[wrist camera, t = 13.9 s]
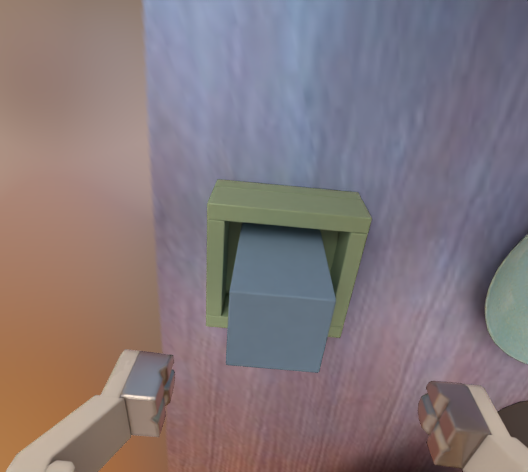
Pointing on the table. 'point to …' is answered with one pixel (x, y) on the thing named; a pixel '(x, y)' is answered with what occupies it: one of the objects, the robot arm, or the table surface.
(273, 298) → the gray rectangular block
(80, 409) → the robot arm
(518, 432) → the candle holder
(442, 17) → the table surface
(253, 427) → the table surface
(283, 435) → the table surface
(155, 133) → the table surface
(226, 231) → the pad base
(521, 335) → the saucer
